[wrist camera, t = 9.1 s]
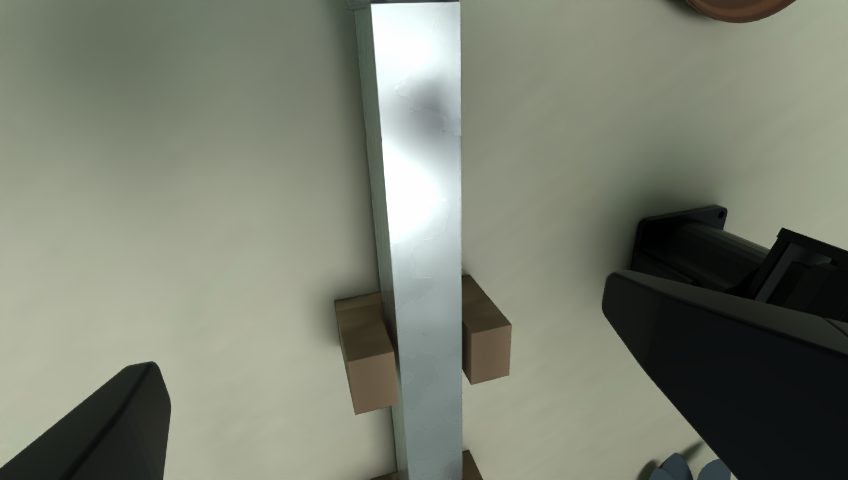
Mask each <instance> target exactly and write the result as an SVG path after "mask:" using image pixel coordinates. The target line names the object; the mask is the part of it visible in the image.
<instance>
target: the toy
mask: <svg viewBox="0 0 848 480" xmlns="http://www.w3.org/2000/svg"><path fill="white" fill-rule="evenodd" d="M730 476H731V471H730V470H729V469H728V468H727V467H726V465H725V464H724V463H723V462H722V461H721V460H720V459H717V460H713V461H712V462H710V463H708V464H707V465H706V466H705V467H703V468H702V470H701V471H700V473H699V475H698V479H697V480H730ZM649 480H693V477H692V474H691V471H690V469H689V467H688V465H687V463H686V462H685V460H684V459H683V458H682V457H681V456H680V455H678V454H675V453H674V454H673V455H671V456H670V457H669V458H668V459H666V461H665V462H664V464H663V466H662V469H655V470H654V471H653V472H652V474H651V476H650V478H649Z"/></svg>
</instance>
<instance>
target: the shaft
mask: <svg viewBox="0 0 848 480" xmlns="http://www.w3.org/2000/svg"><path fill="white" fill-rule="evenodd" d="M346 6H347V10H351V11H354V17H355V27H356V38H357V48H358V59H359V69H360V80H361V90H362V101H363V111H364V122H365V132H366V143H367V153H368V164H369V174H370V185H371V195H372V206H373V216H374V227H375V237H376V248H377V258H378V269H379V279H380V290H381V300H382V311H383V321H384V327H385V329H386V332H387V334H388V337H389V340H390V342H391V345H392V348H393V350H394V357H395V369H396V380H397V392H398V404H396V405H392V416H393V426H394V437H395V447H396V458H397V468H398V479H399V480H462V281H461V62H460V2H459V0H346Z"/></svg>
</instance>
